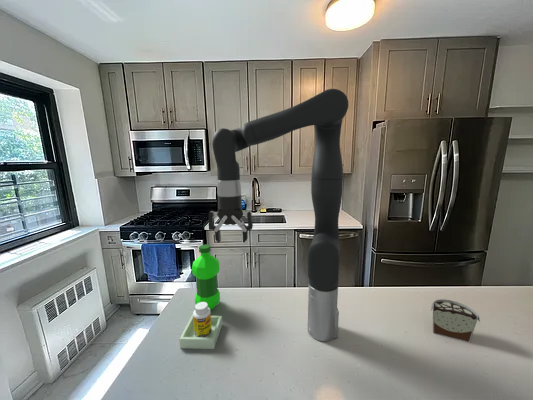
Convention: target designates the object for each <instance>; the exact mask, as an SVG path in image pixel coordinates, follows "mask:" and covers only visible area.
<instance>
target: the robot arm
mask: <svg viewBox="0 0 533 400" xmlns="http://www.w3.org/2000/svg"><path fill="white" fill-rule="evenodd" d="M348 109H349V99H348V97H347V95H346V93H344V92H343V91H342V90H340V89H338V88H329V89H325V90H324V91H321V92H320V93H318V94H316V95H313V97H310V98H309V99H306V100H304V101H302V102H300V103H298V104H295V105H294V106H291V107H288V108H286V109H284V110H281V111H277V112H275V113H270V114H268V115H265V116H262V117H259V118H256V119H252V120H250V121H248V122H246V123H244V124H243V126H240V127H237V128H235V129H228V128H225V127H224V128H219V129H217V130H216V131H215V132H214V133H213V135H212V140H211V141H212V144H211V145H212V146H211V147H212V150H213V155H214V160H215V163H216V168H217V169H216V171H217V172H216V175H217V188H216V189H217V191H216V194H217V206H218V207H217V209H218V210H217V211H214V210H211V211H209V213H208V230H210V231H214V239H215V241H216V243H220V242H221V241H222V240H221V239H222V236H221V227H222V226H223V225H225V226H230V225H231V226H236V225H237V226H238V228H240V229H241V230H242V243H246V241H247V240H248V238H249V237H248V231H251V230H252V229H253V227H254V223H253V215H252V214H253V212H252V210H248V211H243V208H242V207H243V205H242V204H243V203H242V185H241V175H240V174H241V173H240V172H241V171H240V164H239V162H238V161H237V156H236V153H237V152H240V151H242V150H245V149H247V148H250V147H252V146H257V145H260V144H262V143H267V142H269V141H273V140H275V139H278V138H280V137H282V136H285V135H287V134H289V133H292V132H294V131H297V130H299V129H302V128H307V127H311V126H313V127H314V128H313V129H314V150H313V151H314V153H313V159H312V167H311V179H310V181H311V183H310V184H311V186H310V188H311V189H310V193H311V202H312V207H313V211H314V229H313V235H312V236H313V237H312V241H311V243H310V245H309V247H308V250H307V278H308V295H307V296H308V297H307V298H308V300H307V304H308V305H307V332H308V335H310V337H311V338H313V339H315V340H317V341H319V342H329V341H333V339H338V337H339V319H340V318H339V317H340V316H339V315H340V311H339V308H338V300H339V296H338V295H339V280H340V279H339V273H340V271H339V270H340V253H341V243H340V233H339V230H340V229H339V217H340V213H341V212H340V210H341V206H342V197H343V191H344V189H343V188H344V167H343V159H342V153H341V144H340V143H341V132H342V124H343V119H344V118H345V116H346V114H347V113H348ZM243 216H244V218H245V219H247V225H246V224H245V222H244V220H243V219H242V218H243ZM216 217H218V219H219V220H220V221H219V222H218V224H217V225H215V219H216Z"/></svg>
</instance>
